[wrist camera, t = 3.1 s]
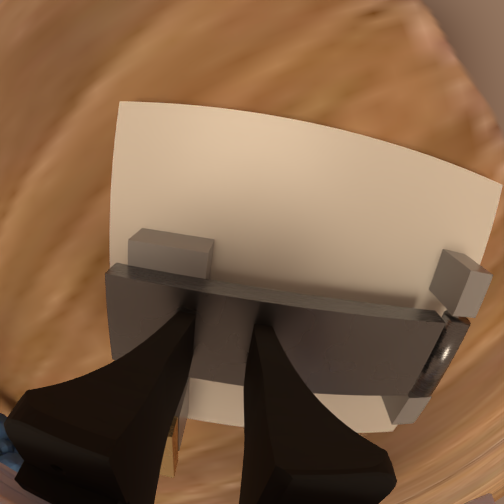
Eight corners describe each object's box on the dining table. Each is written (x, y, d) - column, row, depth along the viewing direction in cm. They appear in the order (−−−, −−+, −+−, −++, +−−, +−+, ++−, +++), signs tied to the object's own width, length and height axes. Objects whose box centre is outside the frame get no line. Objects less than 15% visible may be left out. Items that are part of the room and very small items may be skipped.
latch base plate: (387, 415, 18) (403, 463, 14) (130, 386, 17) (108, 437, 13) (484, 179, 12) (541, 198, 8) (133, 104, 12) (83, 95, 8)
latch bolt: (178, 459, 13) (174, 478, 12) (123, 446, 13) (117, 463, 12) (177, 416, 12) (172, 437, 11) (112, 399, 12) (103, 419, 11)
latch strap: (460, 311, 12) (475, 327, 10) (426, 378, 13) (436, 396, 12) (118, 260, 11) (102, 275, 10) (122, 342, 13) (110, 362, 11)
